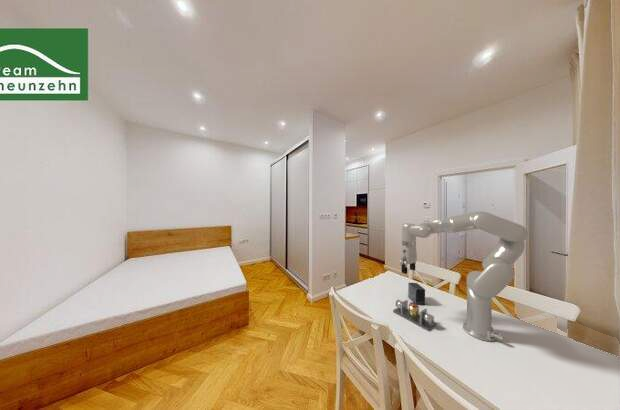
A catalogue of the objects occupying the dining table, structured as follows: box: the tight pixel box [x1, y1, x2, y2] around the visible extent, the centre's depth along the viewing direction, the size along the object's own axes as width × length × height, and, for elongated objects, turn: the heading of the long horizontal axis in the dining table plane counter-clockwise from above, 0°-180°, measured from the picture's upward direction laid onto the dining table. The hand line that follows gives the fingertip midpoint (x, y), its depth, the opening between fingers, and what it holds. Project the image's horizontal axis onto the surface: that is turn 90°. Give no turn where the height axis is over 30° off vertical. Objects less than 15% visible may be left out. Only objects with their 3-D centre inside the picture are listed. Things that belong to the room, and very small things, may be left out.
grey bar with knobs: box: [392, 299, 437, 332], centre depth 109 cm, size 20×9×7 cm, turn 33°
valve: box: [408, 301, 420, 319], centre depth 109 cm, size 5×5×7 cm
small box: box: [407, 282, 426, 306], centre depth 128 cm, size 11×6×10 cm, turn 179°
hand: (408, 271), depth 114 cm, fingers open, 9 cm apart
